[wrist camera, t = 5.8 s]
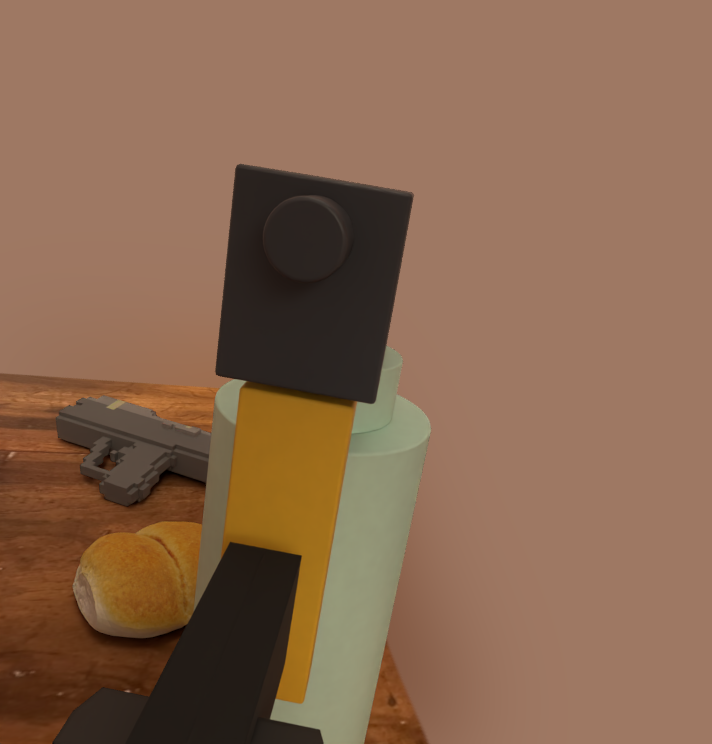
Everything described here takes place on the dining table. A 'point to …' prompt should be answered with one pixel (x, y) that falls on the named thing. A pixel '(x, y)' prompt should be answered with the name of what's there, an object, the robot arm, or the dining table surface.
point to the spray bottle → (329, 378)
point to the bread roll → (140, 580)
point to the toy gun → (132, 446)
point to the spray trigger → (290, 498)
